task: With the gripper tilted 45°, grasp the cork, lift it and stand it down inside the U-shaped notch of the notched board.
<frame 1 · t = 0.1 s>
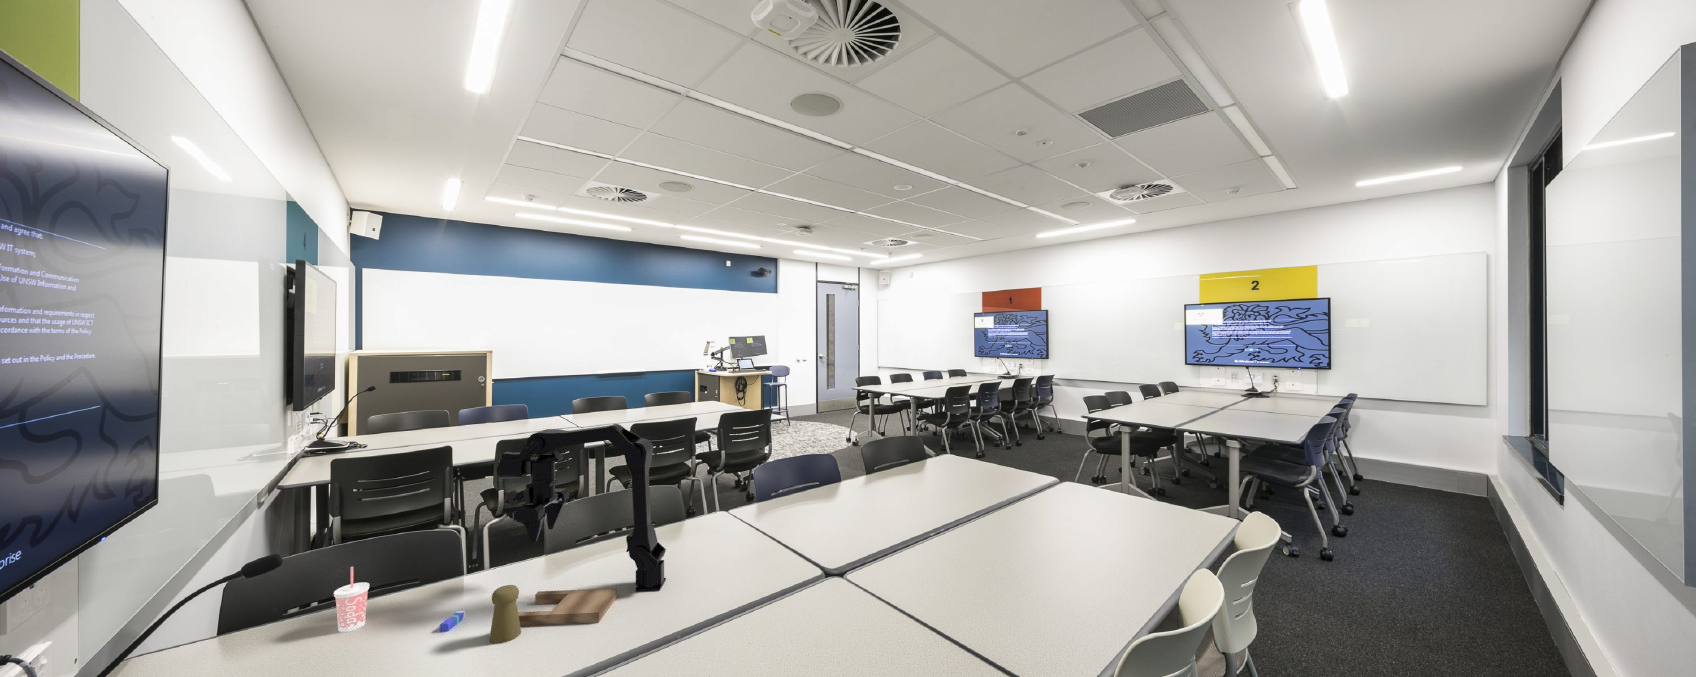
hand: (542, 535, 141), 15 cm above the table, tool pointing down, fingers open, 9 cm apart
cork: (505, 636, 119), on the table
eraser: (452, 626, 124), on the table
beverage cup: (352, 627, 123), on the table
notched board: (567, 610, 130), on the table
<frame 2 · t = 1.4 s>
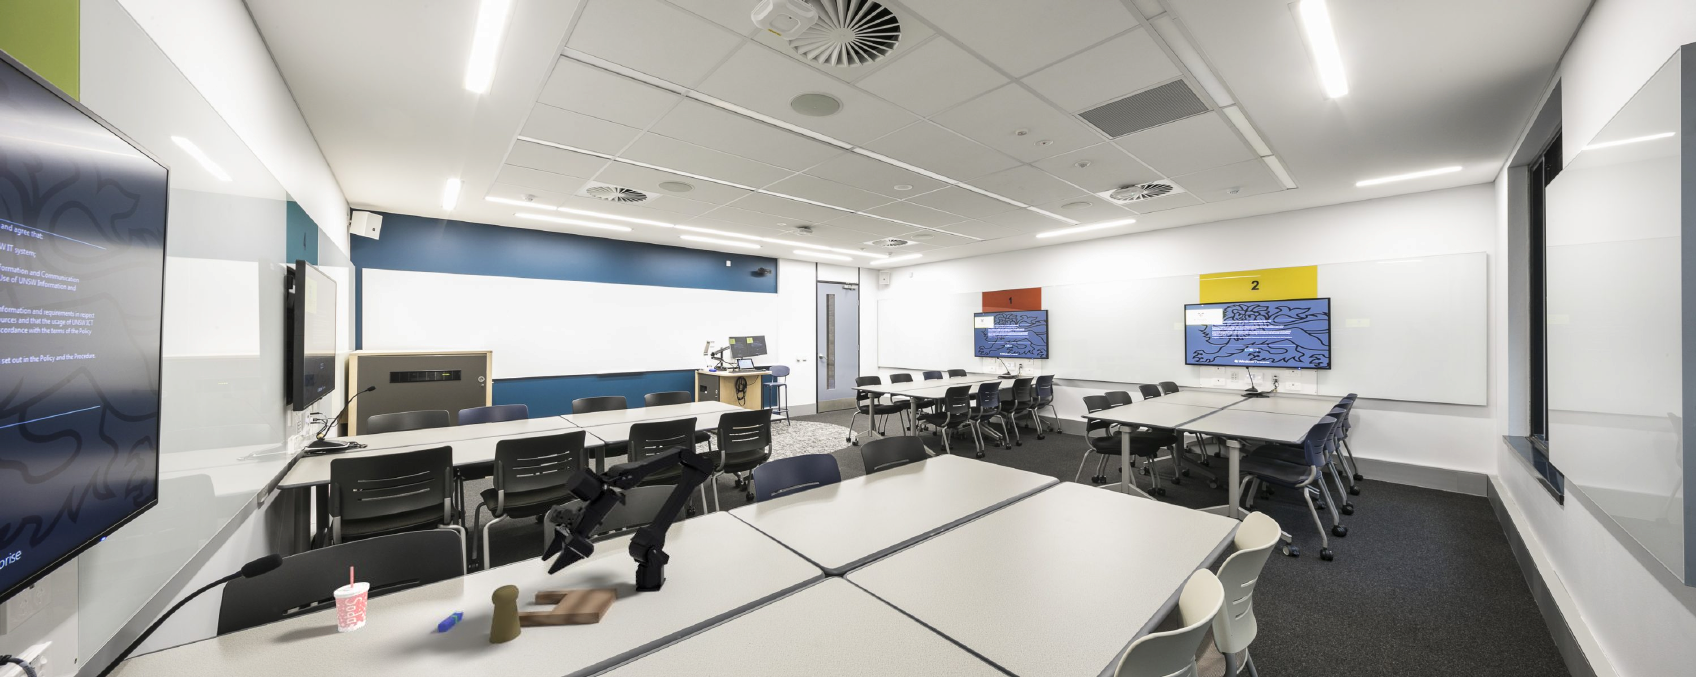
hand: (545, 566, 124), 13 cm above the table, tool tilted 45°, fingers open, 9 cm apart
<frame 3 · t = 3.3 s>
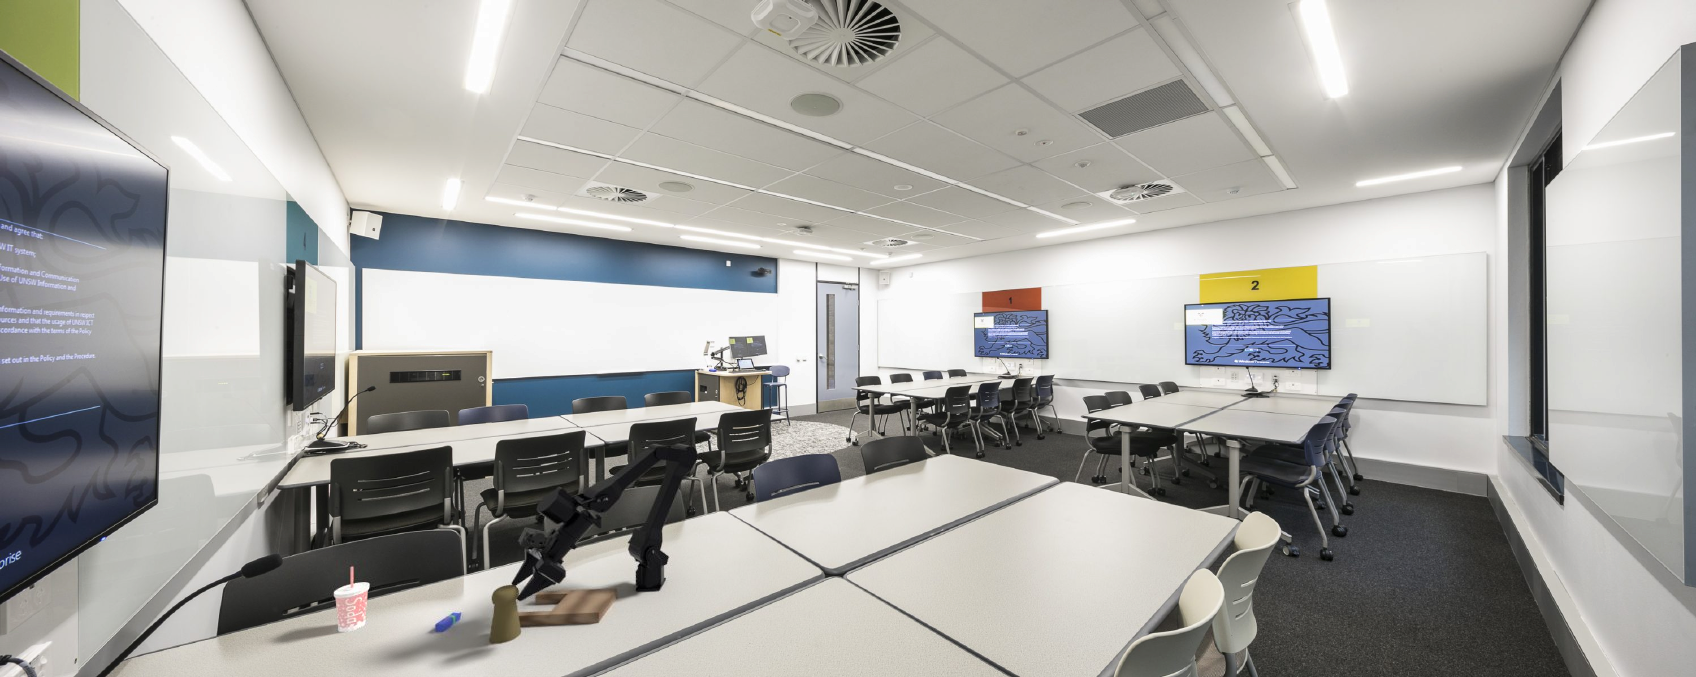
hand: (515, 592, 120), 9 cm above the table, tool tilted 45°, fingers open, 9 cm apart
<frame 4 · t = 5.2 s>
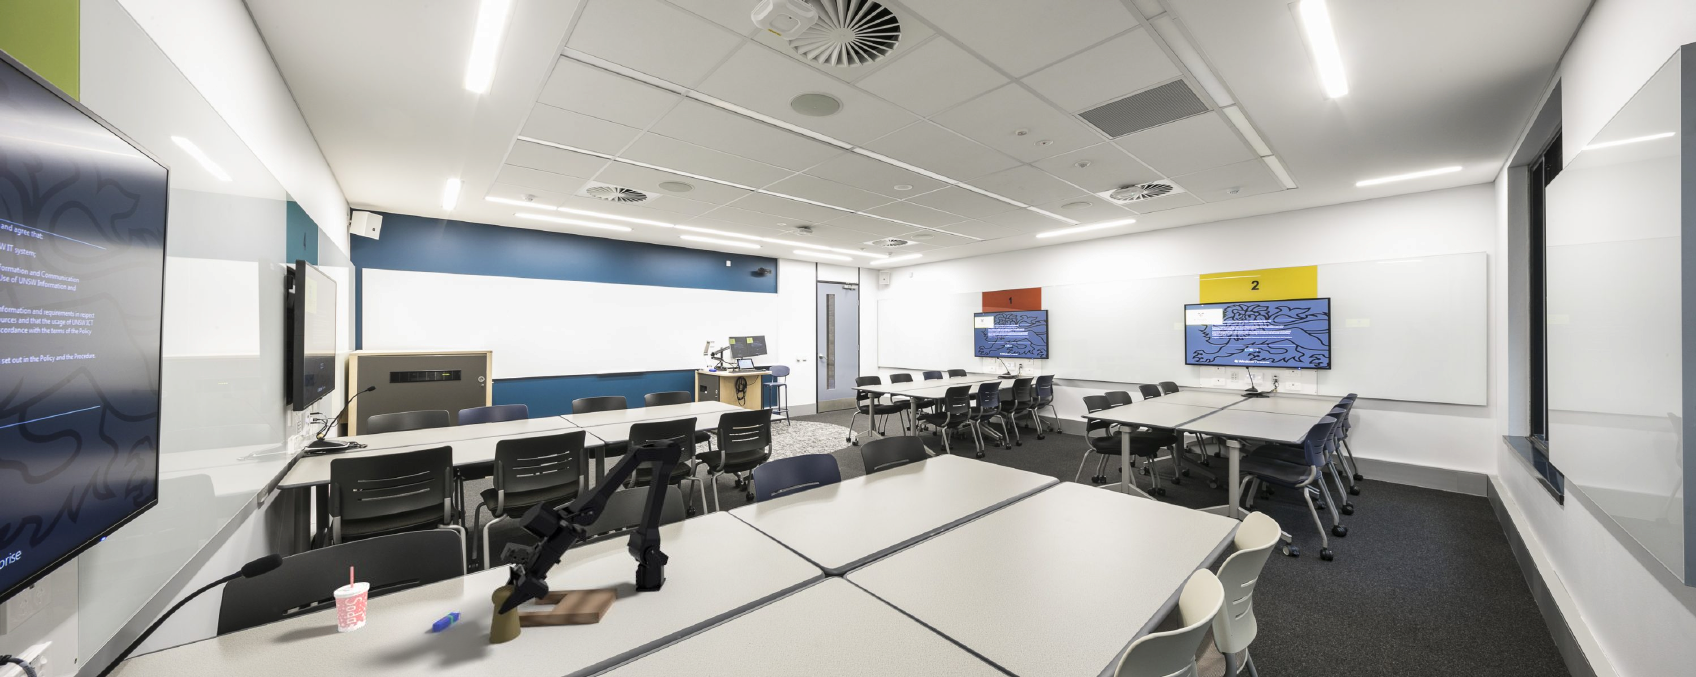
hand: (498, 608, 118), 7 cm above the table, tool tilted 45°, fingers closed on cork, 5 cm apart
cork: (505, 636, 119), on the table, touching gripper
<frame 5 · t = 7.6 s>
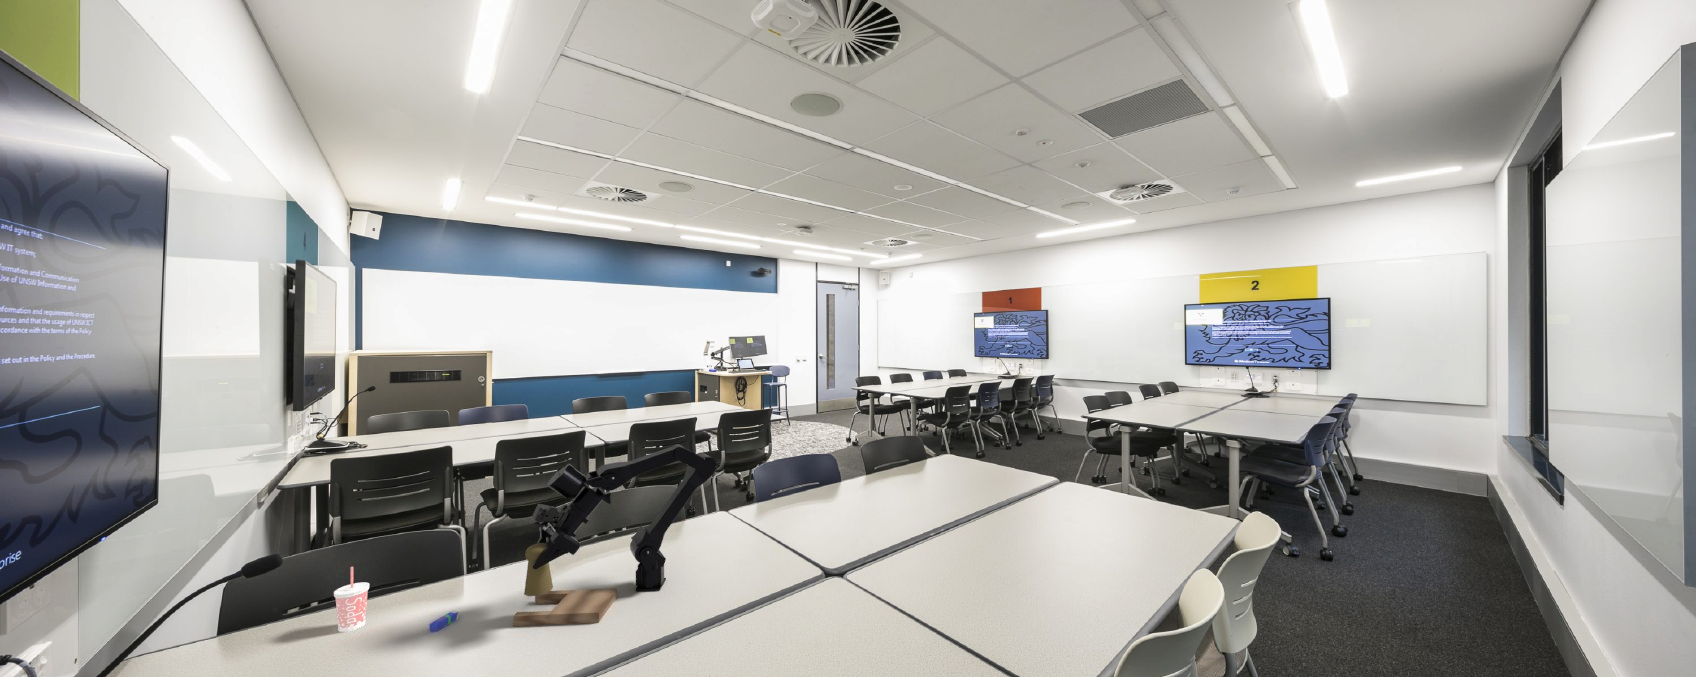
hand: (531, 564, 127), 13 cm above the table, tool tilted 45°, fingers closed on cork, 5 cm apart
cork: (538, 590, 127), point 6 cm above the table, touching gripper
when the fingers open (7 cm above the table, at t = 10.0 s): cork stays where it is, on the table.
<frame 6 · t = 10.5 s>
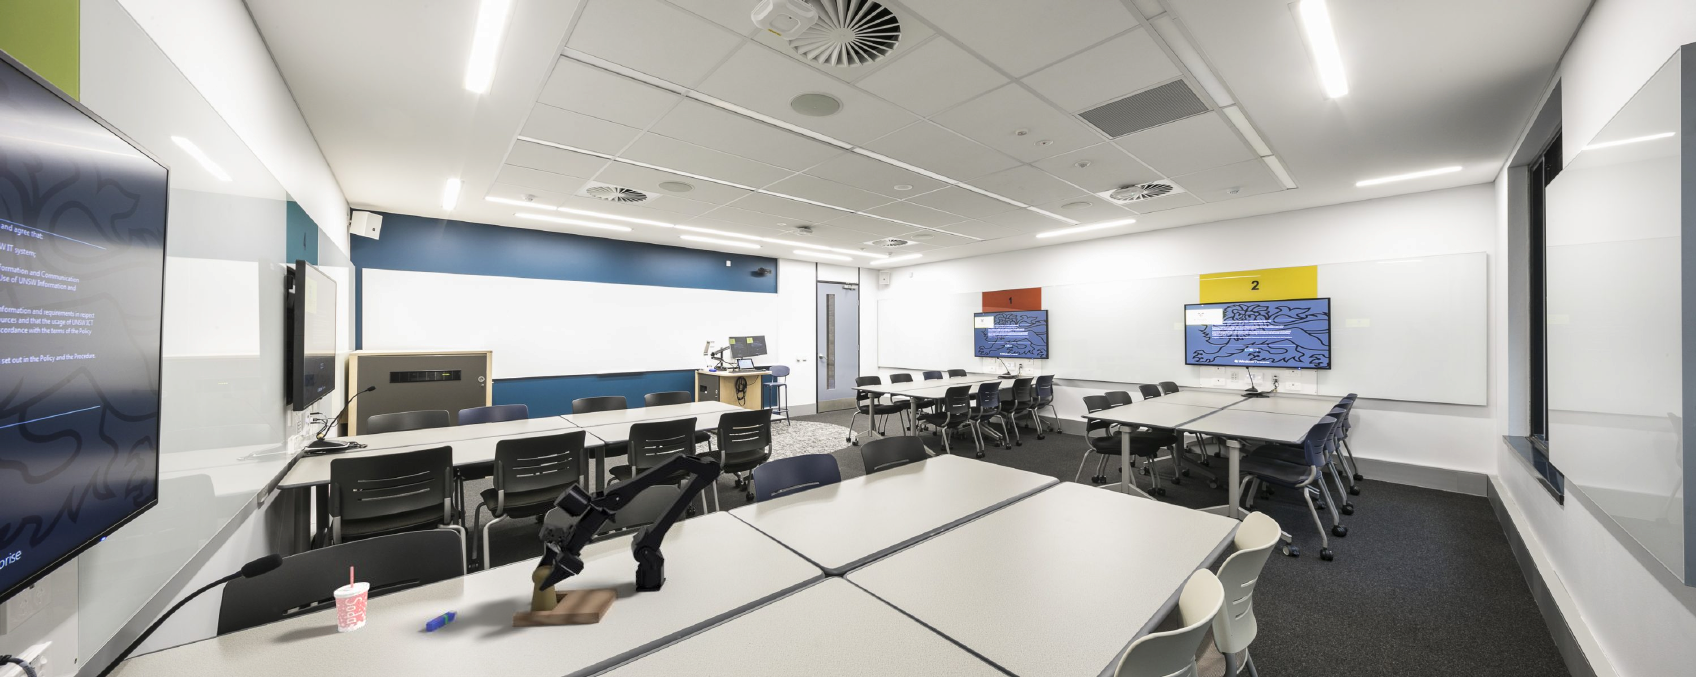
hand: (536, 583, 128), 8 cm above the table, tool tilted 45°, fingers open, 9 cm apart
cork: (543, 612, 129), on the table
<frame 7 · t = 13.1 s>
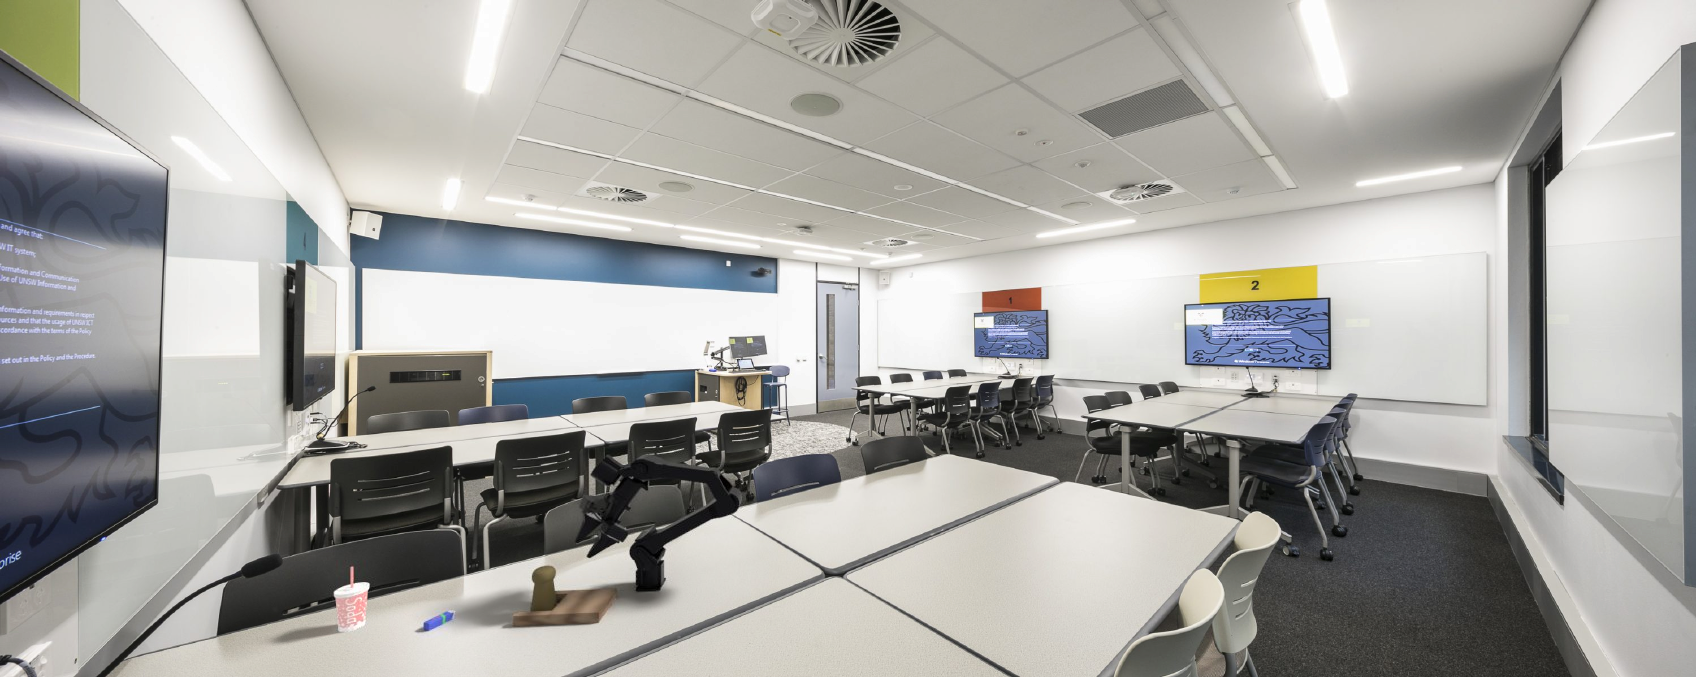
hand: (581, 549, 136), 13 cm above the table, tool tilted 40°, fingers open, 9 cm apart
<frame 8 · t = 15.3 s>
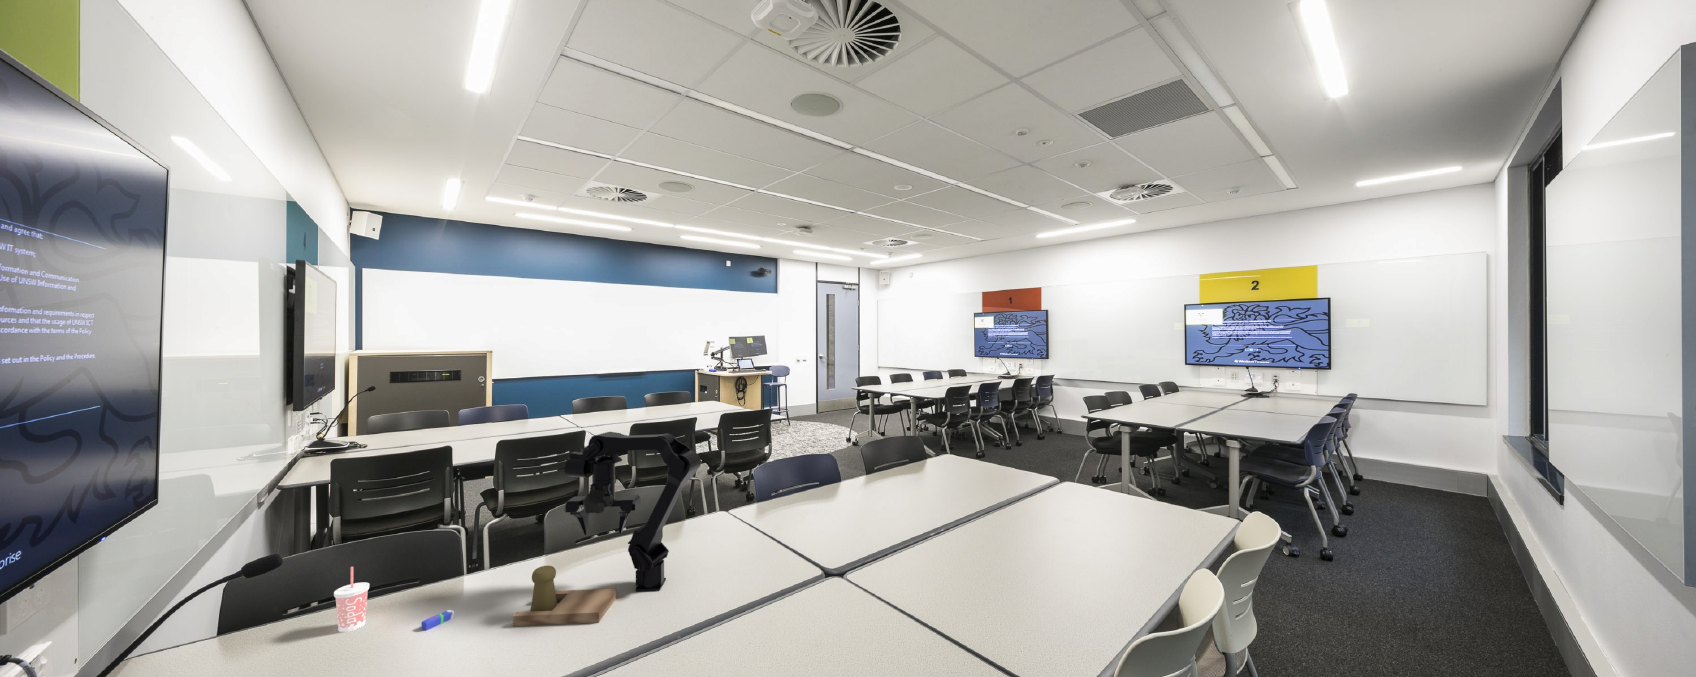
hand: (603, 534, 146), 13 cm above the table, tool pointing down, fingers open, 9 cm apart
at the end: cork 0.4 cm from the target spot on the notched board, point 0.0 cm above the notched board's base; cork tilted 0°; the gripper is holding nothing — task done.
